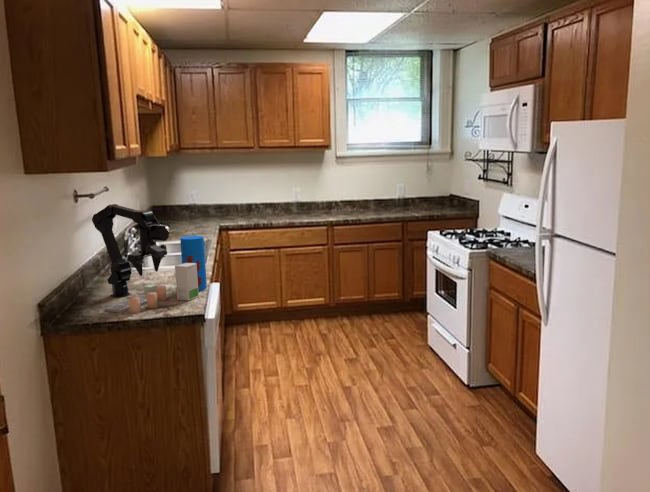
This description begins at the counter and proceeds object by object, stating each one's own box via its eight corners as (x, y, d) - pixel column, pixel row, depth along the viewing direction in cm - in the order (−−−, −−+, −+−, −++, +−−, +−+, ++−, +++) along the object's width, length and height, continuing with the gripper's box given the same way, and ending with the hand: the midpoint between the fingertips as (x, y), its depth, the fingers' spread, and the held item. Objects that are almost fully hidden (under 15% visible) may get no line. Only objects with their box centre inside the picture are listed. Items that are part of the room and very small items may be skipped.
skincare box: (188, 301, 239) (186, 266, 236) (176, 299, 242) (173, 265, 239) (199, 296, 247) (197, 262, 244) (187, 295, 249) (185, 262, 246)
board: (104, 310, 228) (104, 308, 228) (138, 298, 245) (138, 296, 244) (120, 313, 224) (120, 310, 224) (153, 300, 241) (153, 298, 241)
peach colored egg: (127, 312, 224) (125, 298, 223) (135, 309, 228) (133, 296, 227) (135, 314, 222) (133, 299, 221) (143, 311, 226) (141, 297, 225)
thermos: (190, 285, 266) (186, 235, 262) (210, 286, 264) (207, 235, 260) (179, 291, 256) (176, 239, 251) (201, 292, 254) (197, 239, 249)
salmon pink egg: (144, 308, 230) (143, 294, 229) (152, 305, 234) (151, 291, 233) (152, 309, 228) (151, 295, 227) (160, 306, 232) (159, 292, 231)
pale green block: (144, 297, 248) (143, 286, 247) (151, 294, 251) (150, 284, 250) (151, 298, 246) (150, 287, 245) (157, 295, 249) (156, 285, 248)
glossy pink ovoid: (154, 300, 241) (153, 287, 240) (161, 298, 245) (160, 285, 244) (162, 301, 239) (161, 288, 238) (168, 299, 243) (167, 286, 242)
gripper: (144, 244, 227) (146, 280, 230) (175, 237, 244) (177, 271, 247) (125, 242, 232) (127, 277, 235) (156, 235, 249) (158, 268, 252)
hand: (148, 273), depth 242 cm, fingers open, 9 cm apart
